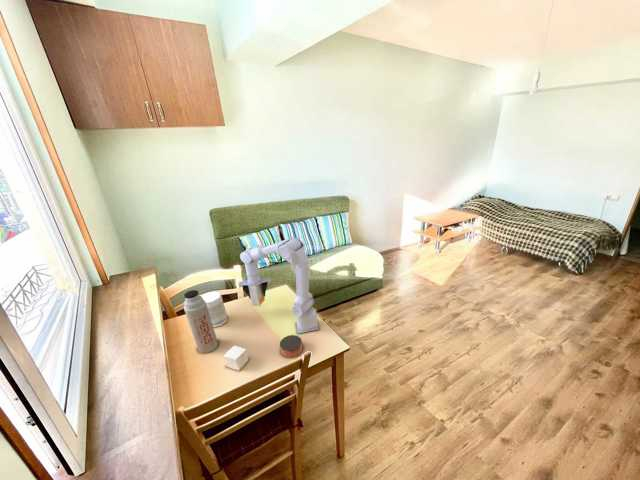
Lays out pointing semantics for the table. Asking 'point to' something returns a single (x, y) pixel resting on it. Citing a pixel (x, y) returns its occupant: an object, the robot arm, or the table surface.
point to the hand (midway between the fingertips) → (257, 296)
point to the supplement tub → (215, 308)
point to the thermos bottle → (200, 322)
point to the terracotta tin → (291, 346)
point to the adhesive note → (236, 357)
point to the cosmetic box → (256, 294)
